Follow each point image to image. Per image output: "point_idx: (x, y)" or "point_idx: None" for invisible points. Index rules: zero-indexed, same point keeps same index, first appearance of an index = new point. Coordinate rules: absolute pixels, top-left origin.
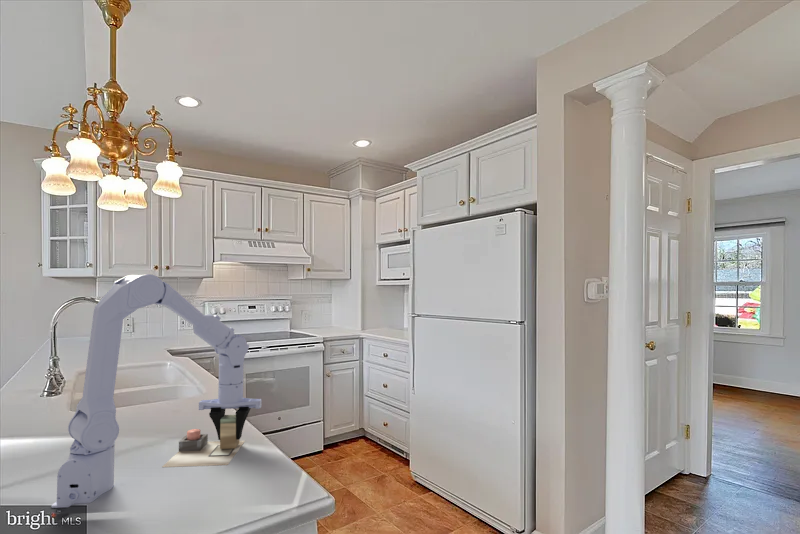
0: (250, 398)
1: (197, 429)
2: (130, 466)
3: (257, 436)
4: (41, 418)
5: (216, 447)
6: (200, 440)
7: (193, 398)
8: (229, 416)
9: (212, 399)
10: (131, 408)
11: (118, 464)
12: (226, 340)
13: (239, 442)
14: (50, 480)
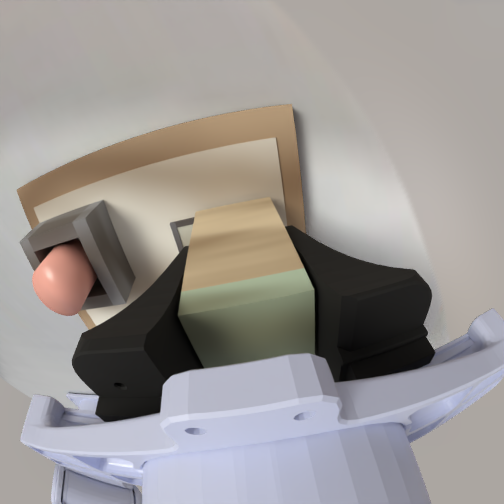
0: (474, 384)
1: (52, 272)
2: (47, 341)
3: (290, 29)
4: None
5: (180, 247)
6: (121, 299)
7: None
8: (242, 340)
9: (63, 453)
10: None
11: (21, 332)
12: None
13: (256, 167)
14: (15, 373)
